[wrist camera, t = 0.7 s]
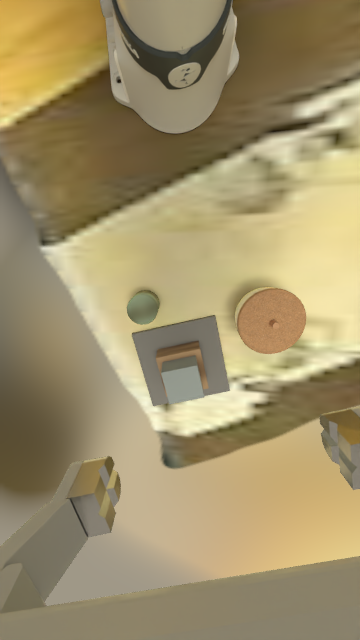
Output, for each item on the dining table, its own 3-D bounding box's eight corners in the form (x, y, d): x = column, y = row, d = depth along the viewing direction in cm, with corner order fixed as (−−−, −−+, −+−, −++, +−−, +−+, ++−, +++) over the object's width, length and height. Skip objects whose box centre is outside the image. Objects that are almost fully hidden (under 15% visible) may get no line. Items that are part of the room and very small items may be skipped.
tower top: (162, 362, 44) (160, 372, 40) (195, 355, 44) (197, 365, 40) (170, 391, 46) (169, 404, 42) (202, 384, 46) (204, 397, 42)
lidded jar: (275, 342, 48) (297, 364, 39) (222, 331, 48) (232, 351, 39) (294, 289, 46) (322, 299, 37) (237, 276, 45) (252, 283, 36)
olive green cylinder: (129, 293, 46) (123, 299, 41) (155, 287, 45) (152, 292, 41) (136, 319, 47) (131, 327, 42) (162, 313, 47) (160, 320, 42)
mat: (132, 333, 48) (131, 334, 47) (214, 315, 47) (215, 316, 46) (153, 403, 52) (153, 406, 51) (229, 388, 51) (229, 390, 50)
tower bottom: (157, 349, 48) (155, 358, 44) (198, 340, 47) (199, 348, 44) (167, 385, 50) (166, 396, 46) (206, 377, 50) (208, 388, 46)
